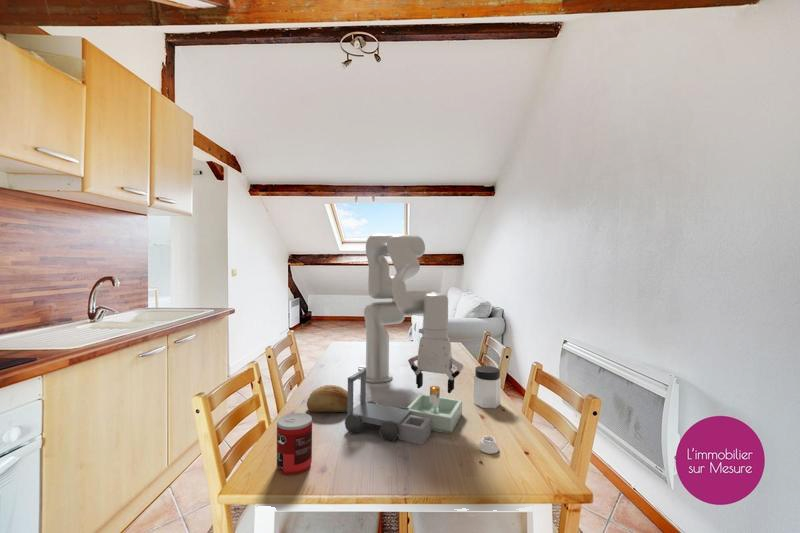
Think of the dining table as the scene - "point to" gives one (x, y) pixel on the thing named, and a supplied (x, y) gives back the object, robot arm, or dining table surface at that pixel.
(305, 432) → the canned food
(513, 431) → the dining table surface
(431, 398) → the stop pin
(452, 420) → the tray
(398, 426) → the trolley
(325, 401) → the bread roll
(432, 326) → the robot arm
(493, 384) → the jar
